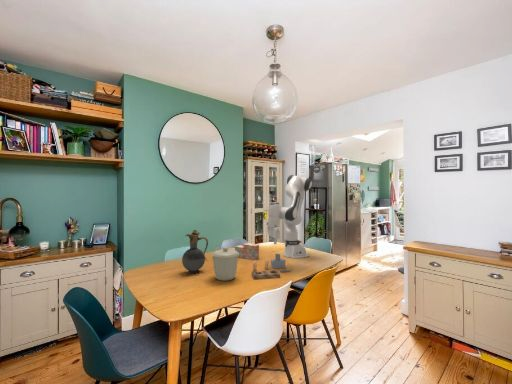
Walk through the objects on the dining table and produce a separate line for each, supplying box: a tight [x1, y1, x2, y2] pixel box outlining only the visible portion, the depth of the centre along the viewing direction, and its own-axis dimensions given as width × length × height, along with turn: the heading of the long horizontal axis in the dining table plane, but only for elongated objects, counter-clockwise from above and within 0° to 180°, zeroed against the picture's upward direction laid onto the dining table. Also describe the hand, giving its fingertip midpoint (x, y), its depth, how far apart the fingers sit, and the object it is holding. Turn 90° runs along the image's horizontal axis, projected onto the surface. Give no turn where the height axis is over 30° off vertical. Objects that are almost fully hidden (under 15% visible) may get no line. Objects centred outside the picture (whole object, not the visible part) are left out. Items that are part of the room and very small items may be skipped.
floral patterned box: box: [234, 242, 260, 261], centre depth 211 cm, size 21×6×12 cm, turn 57°
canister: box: [211, 246, 239, 282], centre depth 162 cm, size 18×18×21 cm
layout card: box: [279, 268, 291, 273], centre depth 175 cm, size 7×3×1 cm, turn 101°
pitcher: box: [181, 229, 209, 275], centre depth 175 cm, size 11×19×30 cm, turn 126°
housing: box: [270, 253, 286, 269], centre depth 186 cm, size 10×5×10 cm, turn 101°
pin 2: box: [264, 259, 269, 271], centre depth 180 cm, size 3×3×7 cm
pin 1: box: [252, 260, 258, 272], centre depth 177 cm, size 3×3×7 cm
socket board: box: [251, 269, 281, 280], centre depth 165 cm, size 18×8×2 cm, turn 101°
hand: (273, 242), depth 182 cm, fingers open, 8 cm apart
